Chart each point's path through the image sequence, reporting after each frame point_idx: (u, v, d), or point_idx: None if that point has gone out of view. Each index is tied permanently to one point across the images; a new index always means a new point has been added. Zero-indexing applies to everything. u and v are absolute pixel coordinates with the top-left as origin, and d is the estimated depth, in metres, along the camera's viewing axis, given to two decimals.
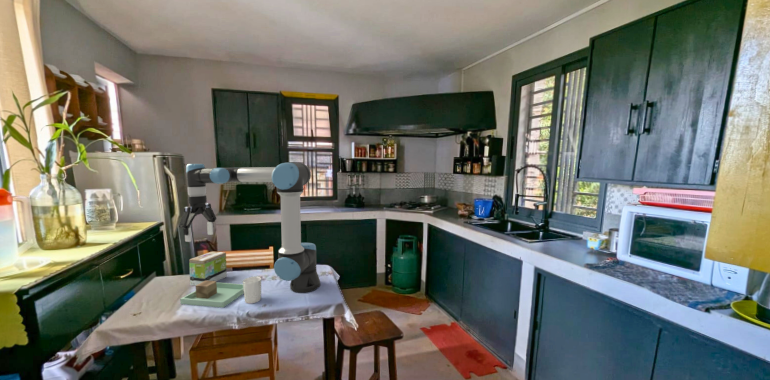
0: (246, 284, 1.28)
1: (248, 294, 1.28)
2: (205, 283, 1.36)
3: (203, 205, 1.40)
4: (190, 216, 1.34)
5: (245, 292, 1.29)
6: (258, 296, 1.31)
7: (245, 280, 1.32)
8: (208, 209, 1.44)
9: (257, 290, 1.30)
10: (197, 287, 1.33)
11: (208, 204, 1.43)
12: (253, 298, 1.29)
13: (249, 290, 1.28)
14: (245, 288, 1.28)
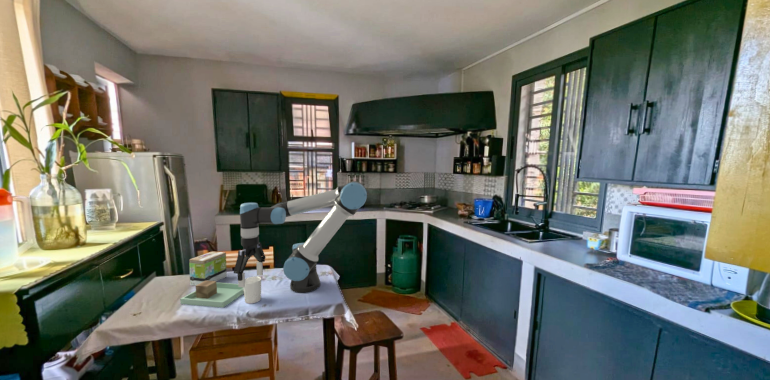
0: (246, 284, 1.28)
1: (248, 294, 1.28)
2: (205, 283, 1.36)
3: (255, 246, 1.32)
4: (243, 259, 1.26)
5: (245, 292, 1.29)
6: (258, 296, 1.31)
7: (245, 280, 1.32)
8: (258, 249, 1.36)
9: (257, 290, 1.30)
10: (197, 287, 1.33)
11: (259, 244, 1.36)
12: (253, 298, 1.29)
13: (249, 290, 1.28)
14: (245, 288, 1.28)
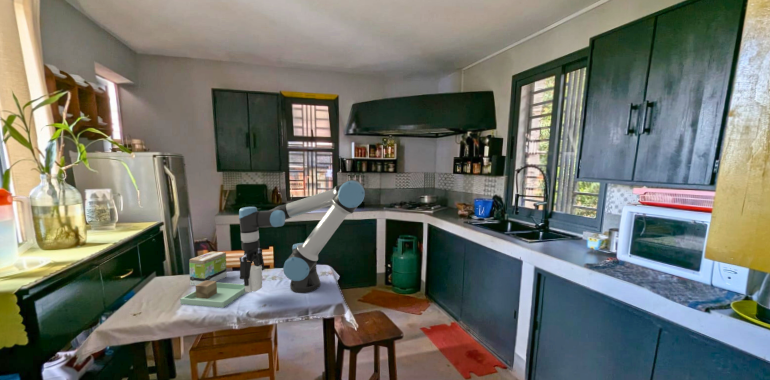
0: None
1: None
2: (205, 283, 1.36)
3: (256, 249, 1.33)
4: (247, 265, 1.27)
5: None
6: (259, 284, 1.31)
7: None
8: (259, 255, 1.36)
9: (258, 278, 1.30)
10: (197, 287, 1.33)
11: (260, 249, 1.36)
12: (254, 286, 1.29)
13: None
14: None
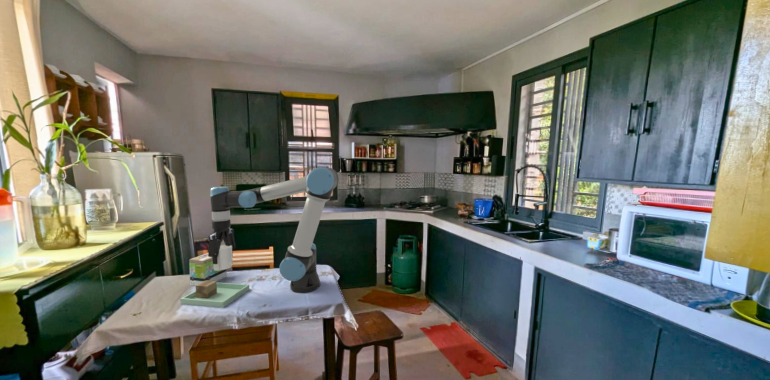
0: None
1: None
2: (205, 283, 1.36)
3: (227, 229, 1.34)
4: (216, 243, 1.29)
5: None
6: (228, 263, 1.32)
7: None
8: (230, 235, 1.37)
9: (227, 257, 1.31)
10: (197, 287, 1.33)
11: (231, 229, 1.37)
12: (223, 265, 1.30)
13: None
14: None
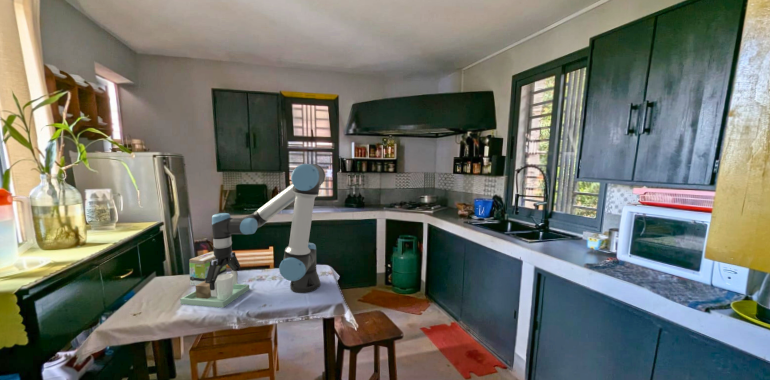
0: (217, 281, 1.30)
1: (219, 291, 1.30)
2: (205, 283, 1.36)
3: (228, 255, 1.35)
4: (216, 269, 1.29)
5: None
6: (230, 293, 1.33)
7: (217, 277, 1.34)
8: (232, 258, 1.39)
9: (229, 287, 1.32)
10: (197, 287, 1.33)
11: (233, 253, 1.38)
12: (224, 295, 1.31)
13: (220, 287, 1.30)
14: None
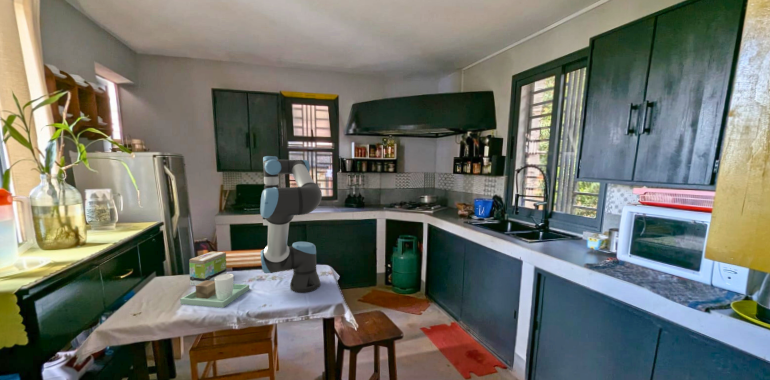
0: (217, 281, 1.30)
1: (219, 291, 1.30)
2: (205, 283, 1.36)
3: None
4: None
5: (216, 289, 1.31)
6: (230, 293, 1.33)
7: (217, 277, 1.34)
8: None
9: (229, 287, 1.32)
10: (197, 287, 1.33)
11: None
12: (224, 295, 1.31)
13: (220, 287, 1.30)
14: (216, 285, 1.30)
